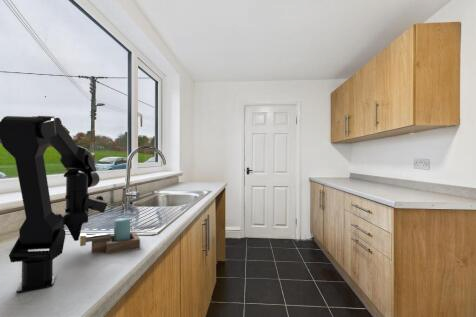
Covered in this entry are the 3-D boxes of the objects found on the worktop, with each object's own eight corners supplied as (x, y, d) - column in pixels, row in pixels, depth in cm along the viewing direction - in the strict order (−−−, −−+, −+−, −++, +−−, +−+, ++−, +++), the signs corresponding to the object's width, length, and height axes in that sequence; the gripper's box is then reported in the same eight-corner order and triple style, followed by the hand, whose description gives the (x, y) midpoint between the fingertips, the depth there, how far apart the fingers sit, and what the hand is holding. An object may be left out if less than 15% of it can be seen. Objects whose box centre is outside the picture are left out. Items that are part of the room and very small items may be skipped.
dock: (139, 248, 83) (139, 235, 83) (91, 256, 76) (91, 241, 76) (135, 239, 91) (135, 227, 91) (91, 246, 84) (91, 233, 84)
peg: (131, 247, 84) (131, 220, 84) (114, 250, 81) (114, 222, 81) (129, 242, 88) (129, 217, 88) (113, 245, 85) (113, 219, 85)
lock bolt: (110, 241, 82) (111, 232, 82) (80, 245, 77) (80, 236, 77) (110, 238, 84) (110, 230, 84) (80, 243, 80) (80, 233, 80)
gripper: (107, 192, 74) (107, 245, 74) (104, 186, 90) (104, 229, 90) (62, 195, 68) (61, 252, 68) (67, 187, 84) (66, 233, 84)
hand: (76, 240), depth 78 cm, fingers closed, pressing on lock bolt
